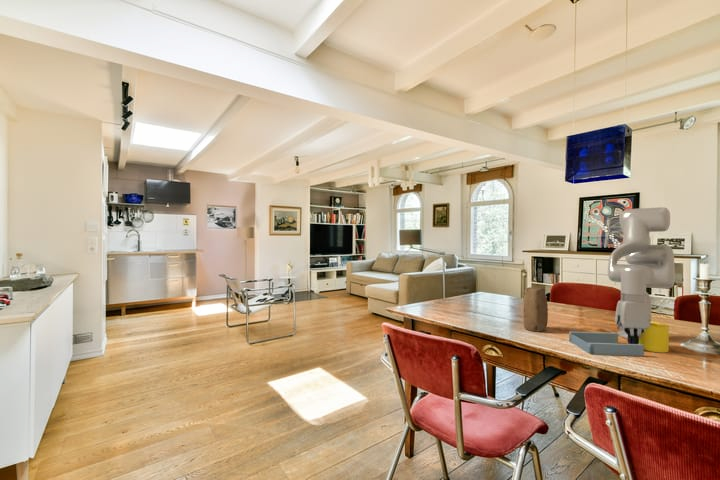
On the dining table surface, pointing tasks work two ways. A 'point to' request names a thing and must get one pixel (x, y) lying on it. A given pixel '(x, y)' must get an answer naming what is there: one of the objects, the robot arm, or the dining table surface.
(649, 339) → the tape roll
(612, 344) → the grey shallow tray
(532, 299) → the block
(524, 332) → the dining table surface
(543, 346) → the dining table surface
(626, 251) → the robot arm
